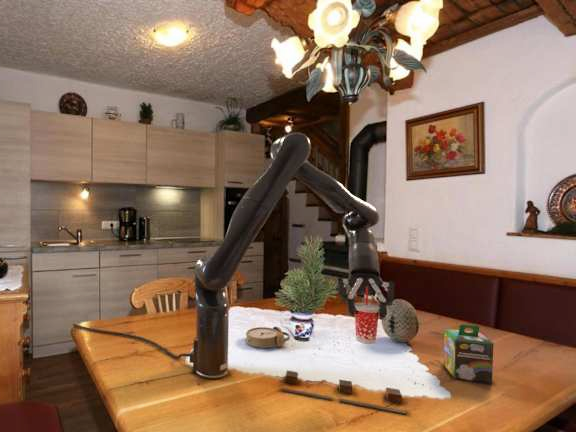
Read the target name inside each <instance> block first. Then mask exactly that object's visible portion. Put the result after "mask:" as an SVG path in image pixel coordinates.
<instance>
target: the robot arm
mask: <svg viewBox="0 0 576 432" xmlns="http://www.w3.org/2000/svg"><path fill="white" fill-rule="evenodd" d="M311 146H312V145H311V141H310V139H309V137H308V136H307V135H306V134H305V133H302V132H291V133H288V134H286V135H283V136H282V137H279V138H277V139H276V140H275V141H274V142H273V143H272V144H271V146H270V149H269V154H270V157H271V159H272V162H271V164H270V165H269V167H268V168H267V169H266V170H265V172H264V173H263V174H262V175H261V176H260V177H259V178H258V179H257V180H256V181H255V182H254V183H253V184H252V185H251V186H250V187H249V189H248V190H247V191H246V192H245V193H244V195H243V196H242V197H241V199H240V201H239V202H238V204H237V206H236V207H235V208H234V211H233V213H232V215H231V218H230V221H229V224H228V228H227V230H226V231H227V232H226V234H225V237H224V239H223V240H222V242H221V243H220V245H219V247H217V249H216V250H215V252H214V253H213V254H207V255H203V256H201V258H199V260H198V261H197V262H196V265H195V268H194V300H195V306H196V313H195V315H196V316H195V322H196V323H195V338H194V339H193V349H192V351H191V352H190V353H180V354H178V355H176V354H173V353H172V352H171V351H170V350H168V349H167V348H165V347H163V346H162V345H160V344H158V343H157V342H155V341H152V340H150V339H148V338H145V337H142V336H139V335H136V334H135V335H134V334H130V333H124V332H117V331H111V330H104V329H97V328H91V327H86V326H82V325H79V324H76V323H72V326H73V327H76V328H78V329H82V330H87V331H90V332H91V331H92V332H98V333H105V334H112V335H113V334H114V335H118V336H125V337H130V338H134V339H138V340H142V341H145V342H147V343H149V344H152V345H154V346H155V347H157V348H159V349H160V350H162V351H164V352H165V353H166V354H168V355H169V356H170V357H172V358H174V359H180V358H182V357H189V363H190V364H191V363H192V373H193V374H196V375H198V377H201V378H205V379H210V380H214V379H215V380H217V379H221V378H224V377H226V376H227V375H228V373H229V319H230V303H229V301H228V298H227V292H226V289H227V288H228V286H229V285H231V282H232V281H233V280H234V277H235V275H236V273H237V271H238V269H239V267H240V265H241V263H242V261H243V259H244V257H245V255H246V253H247V251H248V250H249V248H250V247H251V245H252V244H253V242H254V241H255V239H256V237H257V236H258V234H259V232H260V231H261V230H262V228H263V227H264V225H265V224H266V222H267V221H268V219H269V217H270V215H271V214H272V212H273V211H274V209H275V207H276V205H277V204H278V202H279V201H280V199H281V197H282V195H283V194H284V192H285V190H286V189H287V187H288V186H289V183H290V182H291V180H292V179H293V178H294V177H295V178H296V179H297V180H298V181H300V182H301V183H303V184H304V185H305V186H306V187H308V188H309V189H310V190H311V191H312V192H313V193H314V194H316V195H317V197H319V198H320V199H321V200H322V201H323V202H324V203H325V204H327V205H328V207H330V209H331V210H332V211H334V212H335V213H337V214H343V213H345V214H344V215H343V217H342V219H341V225H342V227H343V229H344V231H345V234H346V236H347V239H348V260H347V262H348V278H343V277H341V276H338V277H337V283H336V284H337V290H338V296H339V300H340V301H341V302H346V304H347V313H348V315H350V317H355V309H354V304H355V300H356V298H357V296H366V286H368V297H372V298H373V299H374V301H376V302H377V304H378V306H379V307H380V311H379V320H380V321H381V320H383V319H384V318H386V315H387V309H386V306H387V305H389V306H391V305H392V304H393V301H394V300H395V282H394V281H393V280H390V281H389V282H387V281H383V279H382V278H381V274H380V273H381V272H380V264H379V256H378V251H377V246H376V237H375V234H374V233H373V231H371V230H370V228H372V227H375V226H376V225H378V224H379V222H380V218H381V217H380V213H379V211H378V210H377V209H376V208H375V206H373V205H372V204H370V203H369V202H367V201H365V200H362V199H361V198H360V197H357V196H356V195H354V194H353V193H351V192H350V191H349V190H348V189H347V188H346V187H345V186H344V185H343V184H342V183H341V182H340V181H338V180H337V179H335V178H334V177H332V176H331V175H329V174H328V173H326V172H324V171H322V170H320V169H319V168H317V167H316V166H314V165H313V164H312V163H311V162H309V161H308V158H309V156H310V154H311V149H312V147H311ZM347 285H348V286H349V287H350V288H351V290H350V292H349V294H346V290H345V288H346V286H347ZM382 287H383V288H384V291H386V292H387V297H385V296H384V294H383V293H382V291H381V288H382Z"/></svg>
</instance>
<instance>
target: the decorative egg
mask: <svg viewBox="0 0 576 432" xmlns="http://www.w3.org/2000/svg"><path fill="white" fill-rule="evenodd" d="M386 309H387V315H386V318H384V319H383V320H380V321H381V327H382V329H383V331H384V333H385V334H386V335H387V336H388V337H389V338H390V339H392V340H394V341H396V342H399V343H400V342H401V343H404V342H410V341H411V340H414V339H415V337H416V336H417V334H418V332H419V329H420V319H419V318H420V317H419V315H418V312H417V310H416V308H415V307H414V306H413V305H412V304H411V303H410V302H409V301H407V300H404V299H401V298H396V299H394V301H393V304H392V305H391V306H389V305H387V306H386Z"/></svg>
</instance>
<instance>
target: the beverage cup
mask: <svg viewBox="0 0 576 432" xmlns="http://www.w3.org/2000/svg"><path fill="white" fill-rule="evenodd" d="M368 301H369V296H368V286H366V295H365V302H354V325H355V326H354V327H355V328H354V329H355V341H357V342H358V343H361V344H364V345H376V343H377V336H378V324H379V317H380V314H379V311H380V307H379V305H377V304H374V303H370V302H368Z"/></svg>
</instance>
